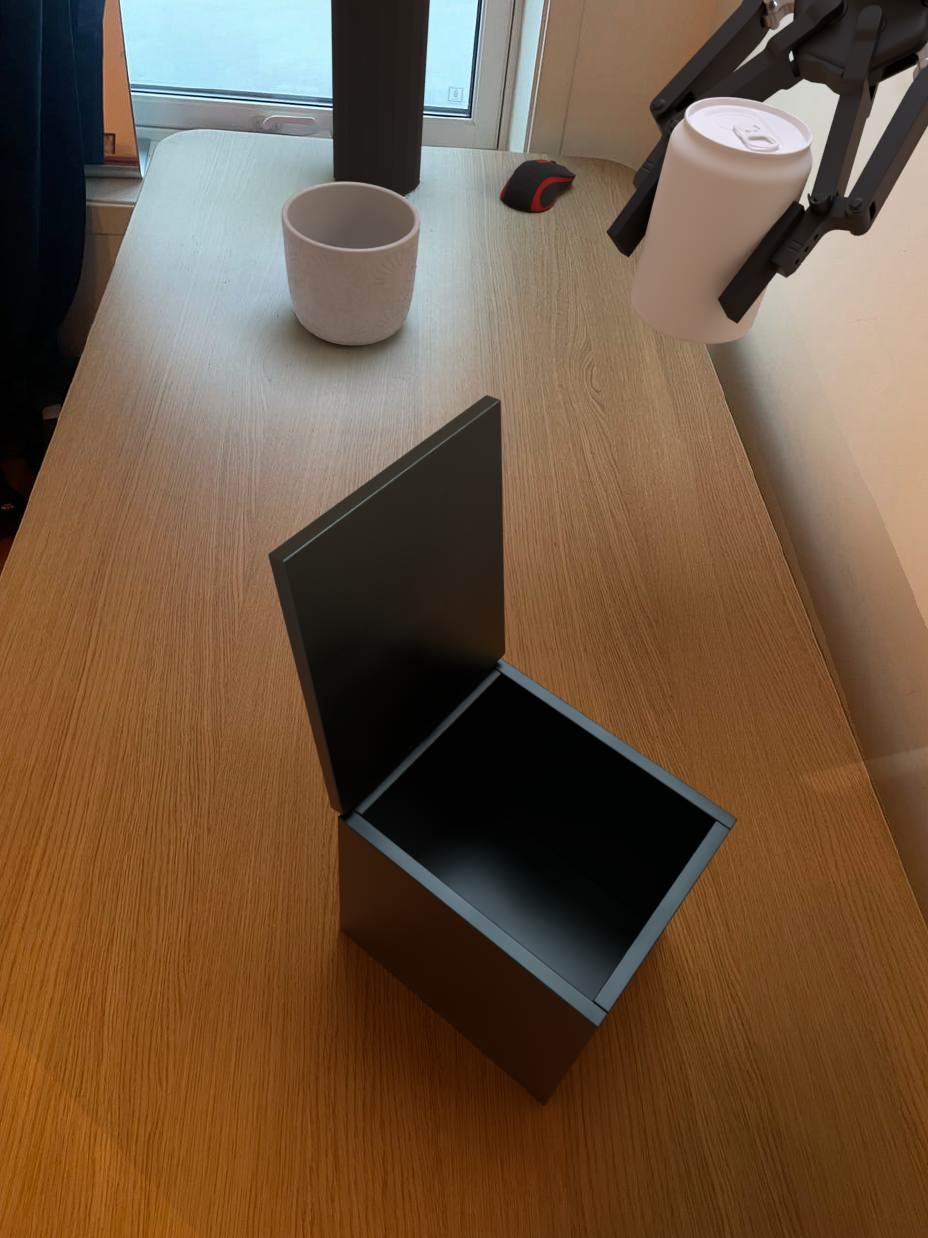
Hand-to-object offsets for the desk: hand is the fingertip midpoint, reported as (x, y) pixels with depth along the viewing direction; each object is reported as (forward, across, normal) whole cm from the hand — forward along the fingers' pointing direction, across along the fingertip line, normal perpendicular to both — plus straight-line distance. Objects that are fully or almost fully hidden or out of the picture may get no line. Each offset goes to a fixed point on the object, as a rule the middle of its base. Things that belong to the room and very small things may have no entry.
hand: (671, 276), depth 56 cm
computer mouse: (-10, +46, -44) cm, 64 cm away
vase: (0, +58, -34) cm, 67 cm away
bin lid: (+21, -10, +18) cm, 30 cm away
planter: (+15, +36, -20) cm, 44 cm away
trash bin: (+36, -18, +1) cm, 40 cm away
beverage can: (0, 0, -5) cm, 5 cm away
